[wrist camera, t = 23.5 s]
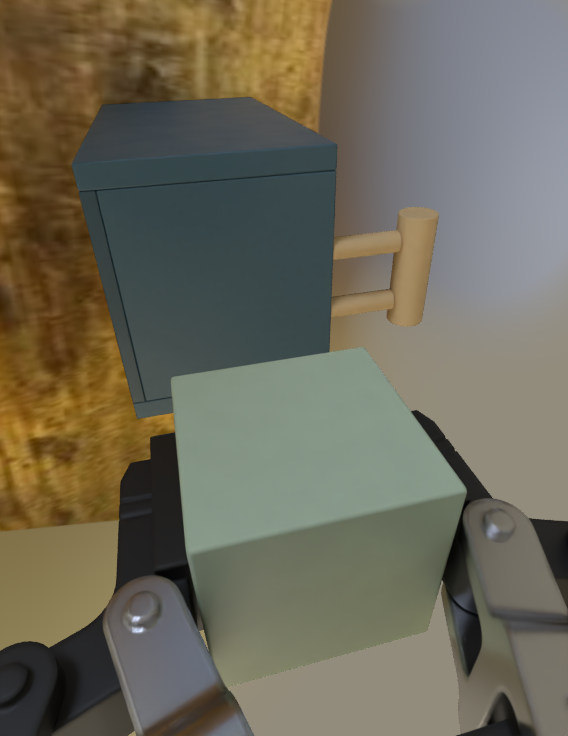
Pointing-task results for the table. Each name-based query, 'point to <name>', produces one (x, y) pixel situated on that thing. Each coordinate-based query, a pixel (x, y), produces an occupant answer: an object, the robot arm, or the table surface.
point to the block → (308, 510)
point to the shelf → (226, 239)
